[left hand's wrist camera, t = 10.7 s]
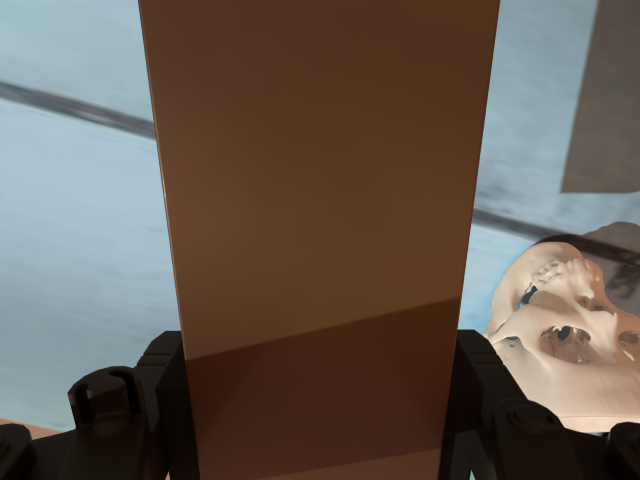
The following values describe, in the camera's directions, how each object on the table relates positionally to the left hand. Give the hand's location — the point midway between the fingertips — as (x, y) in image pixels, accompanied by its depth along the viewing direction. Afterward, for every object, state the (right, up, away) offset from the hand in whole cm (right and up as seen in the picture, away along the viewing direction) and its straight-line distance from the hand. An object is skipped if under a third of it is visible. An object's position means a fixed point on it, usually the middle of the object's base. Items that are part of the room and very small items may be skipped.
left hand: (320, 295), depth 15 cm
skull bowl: (+16, -5, +18) cm, 25 cm away
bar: (0, +30, -10) cm, 32 cm away
